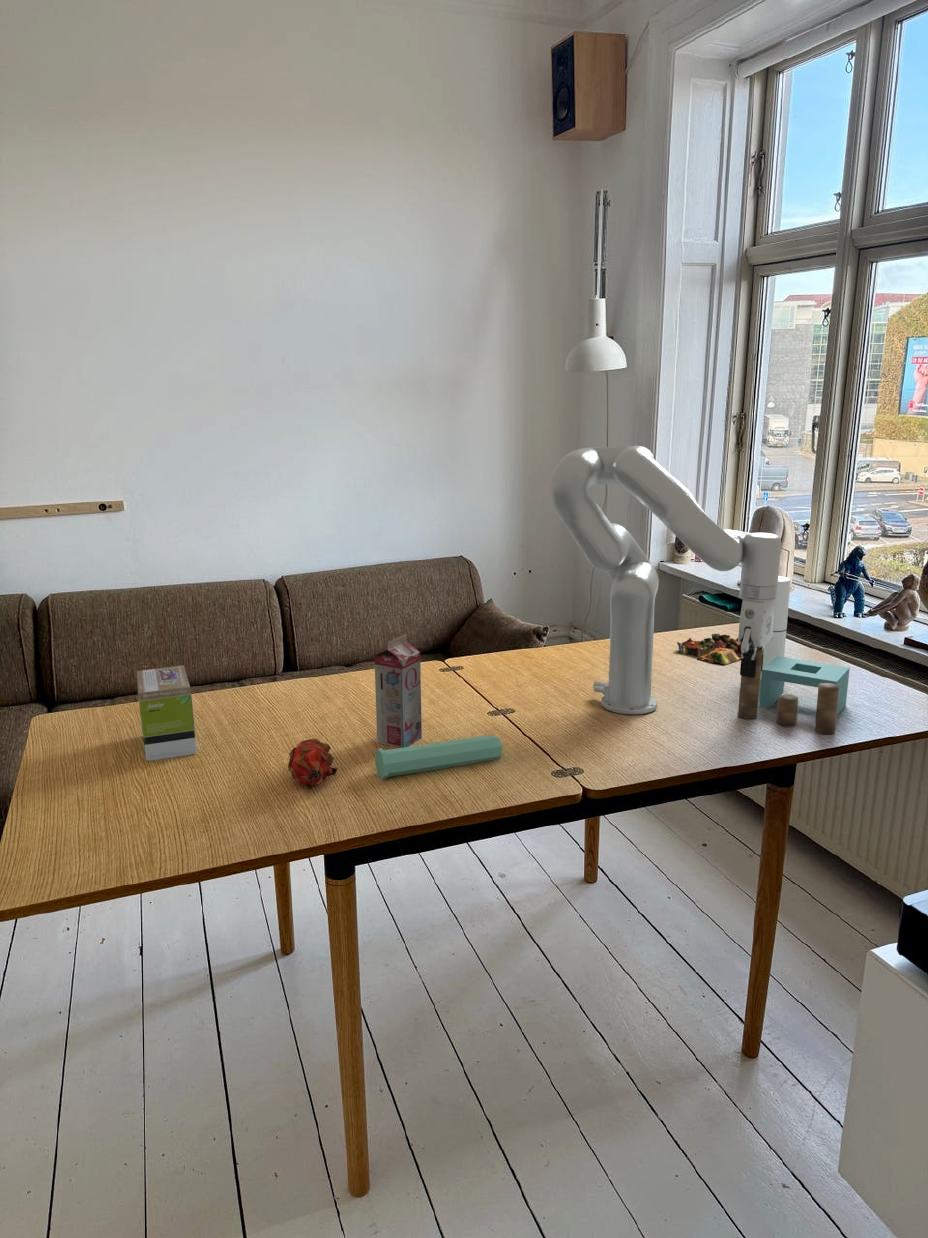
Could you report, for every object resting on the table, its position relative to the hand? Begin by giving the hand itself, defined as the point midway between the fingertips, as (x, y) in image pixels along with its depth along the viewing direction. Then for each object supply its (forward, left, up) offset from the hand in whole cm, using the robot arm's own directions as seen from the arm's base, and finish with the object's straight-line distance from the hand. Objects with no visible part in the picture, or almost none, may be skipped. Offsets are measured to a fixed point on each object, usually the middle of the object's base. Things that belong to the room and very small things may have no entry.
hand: (751, 672), depth 202 cm
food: (-22, +45, -11) cm, 51 cm away
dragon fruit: (-57, -78, -10) cm, 97 cm away
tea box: (-94, -81, -10) cm, 124 cm away
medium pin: (+16, 0, -10) cm, 19 cm away
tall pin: (0, 0, -10) cm, 10 cm away
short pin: (+8, 0, -10) cm, 13 cm away
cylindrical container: (-5, +30, -10) cm, 32 cm away
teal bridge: (+8, +13, -10) cm, 18 cm away
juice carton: (-56, -53, -10) cm, 78 cm away
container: (-41, -59, -11) cm, 72 cm away
